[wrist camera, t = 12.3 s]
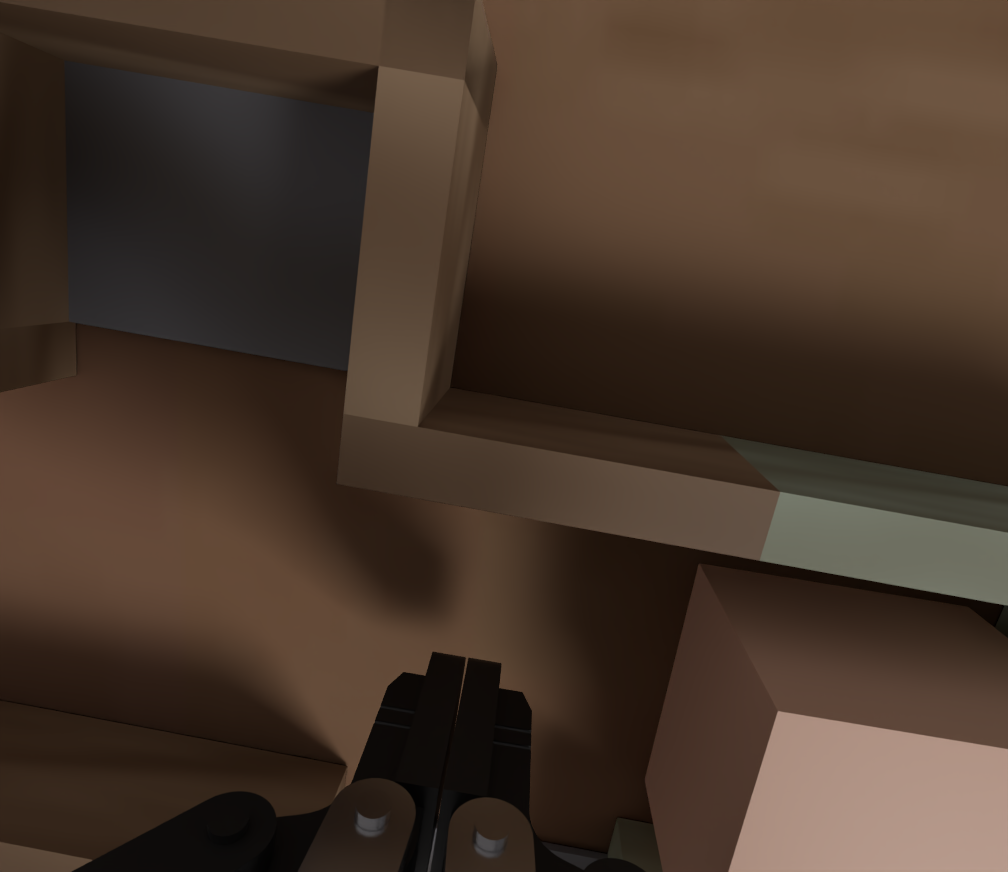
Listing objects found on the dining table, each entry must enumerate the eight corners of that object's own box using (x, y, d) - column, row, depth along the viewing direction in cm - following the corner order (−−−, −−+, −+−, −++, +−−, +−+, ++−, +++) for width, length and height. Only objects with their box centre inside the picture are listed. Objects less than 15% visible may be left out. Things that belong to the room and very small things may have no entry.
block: (697, 560, 14) (777, 710, 9) (964, 603, 14) (1186, 778, 9) (643, 776, 16) (688, 1001, 11) (883, 817, 16) (1035, 1062, 11)
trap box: (-386, -84, 12) (-750, -223, 9) (1251, 191, 11) (1549, 157, 8) (-216, 870, 18) (-389, 1006, 15) (848, 1078, 18) (919, 1270, 14)
